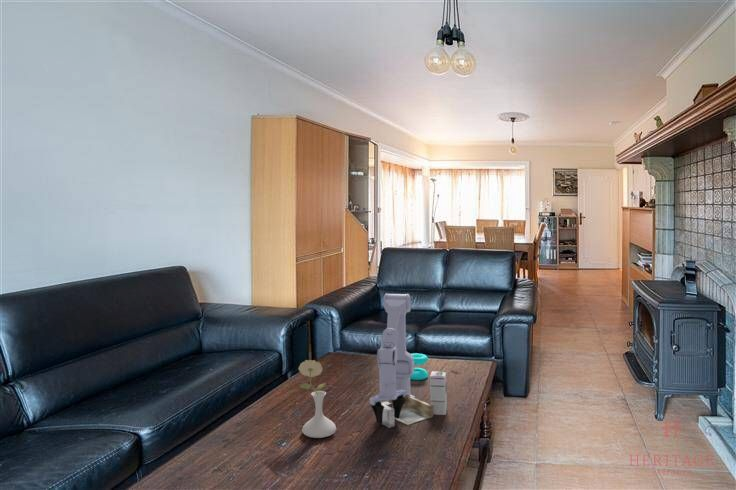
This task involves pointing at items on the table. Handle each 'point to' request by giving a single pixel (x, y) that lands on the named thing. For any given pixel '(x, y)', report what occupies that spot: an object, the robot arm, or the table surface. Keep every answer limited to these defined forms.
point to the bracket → (388, 415)
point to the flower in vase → (316, 404)
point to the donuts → (419, 372)
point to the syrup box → (438, 392)
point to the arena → (413, 410)
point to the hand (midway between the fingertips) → (388, 420)
